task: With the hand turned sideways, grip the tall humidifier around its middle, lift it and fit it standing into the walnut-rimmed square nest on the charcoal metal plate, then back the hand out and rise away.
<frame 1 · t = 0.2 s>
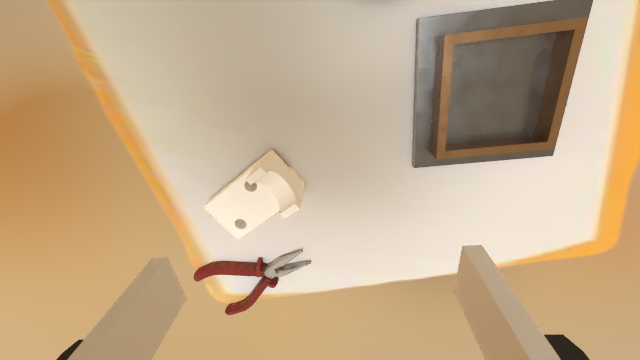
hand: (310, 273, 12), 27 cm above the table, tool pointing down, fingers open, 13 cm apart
bracket: (258, 188, 42), on the table
pliers: (257, 277, 50), on the table
fitting nest: (487, 92, 34), on the table
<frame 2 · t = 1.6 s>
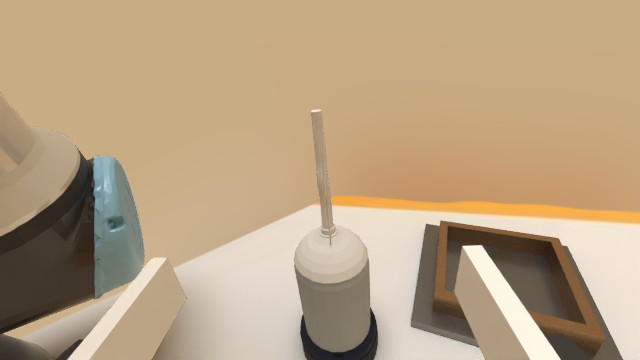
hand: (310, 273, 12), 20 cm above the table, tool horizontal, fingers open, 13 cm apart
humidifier: (339, 339, 30), on the table
fitting nest: (495, 285, 34), on the table
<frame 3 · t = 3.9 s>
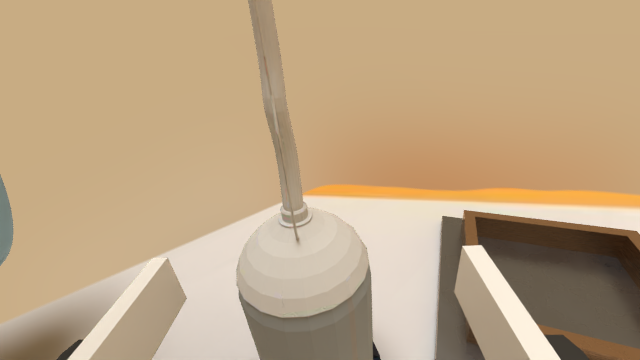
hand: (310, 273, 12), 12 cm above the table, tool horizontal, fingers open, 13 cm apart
fitting nest: (552, 299, 24), on the table
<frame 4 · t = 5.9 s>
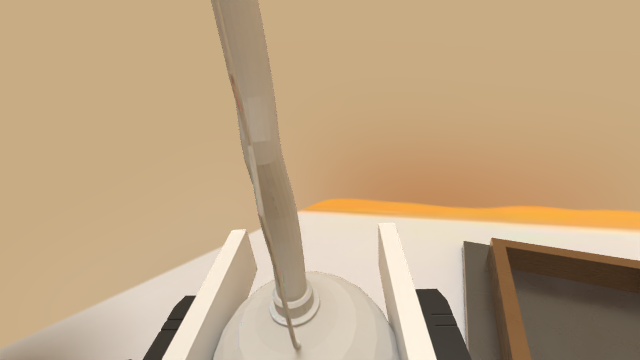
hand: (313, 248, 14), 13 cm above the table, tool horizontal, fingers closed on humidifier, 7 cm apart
fitting nest: (607, 356, 19), on the table
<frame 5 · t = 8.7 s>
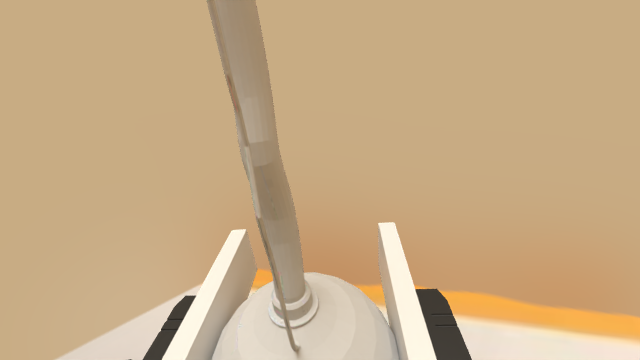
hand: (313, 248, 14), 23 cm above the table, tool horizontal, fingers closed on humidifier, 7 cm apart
when the fingers open (14 cm above the table, at t = 11.3 s): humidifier stays where it is, resting on fitting nest.
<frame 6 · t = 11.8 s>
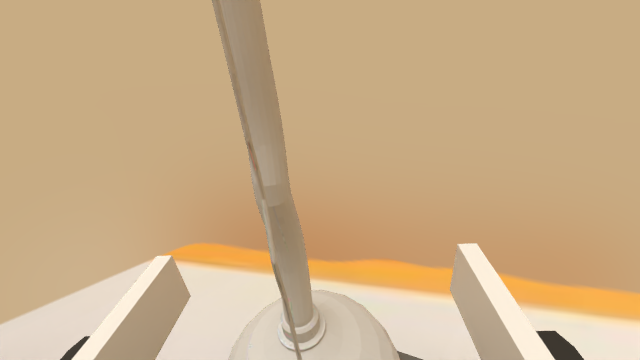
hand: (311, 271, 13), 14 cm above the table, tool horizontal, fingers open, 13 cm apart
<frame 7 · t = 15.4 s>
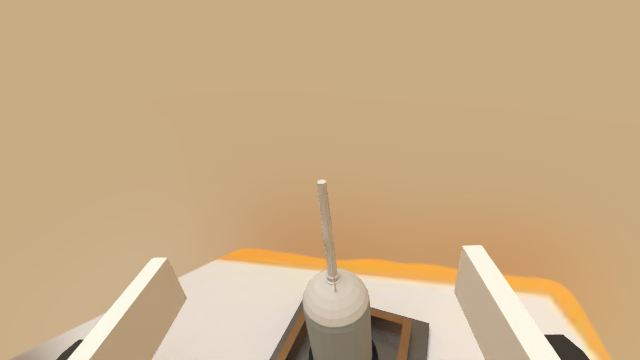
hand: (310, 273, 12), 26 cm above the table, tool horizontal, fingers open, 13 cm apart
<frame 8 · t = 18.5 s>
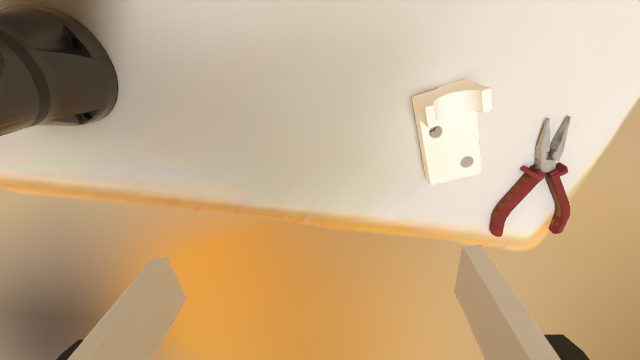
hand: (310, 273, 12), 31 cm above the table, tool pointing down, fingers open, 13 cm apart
bracket: (441, 130, 41), on the table
pliers: (541, 183, 44), on the table
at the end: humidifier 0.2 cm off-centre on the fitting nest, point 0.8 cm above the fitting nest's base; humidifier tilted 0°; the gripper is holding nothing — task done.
